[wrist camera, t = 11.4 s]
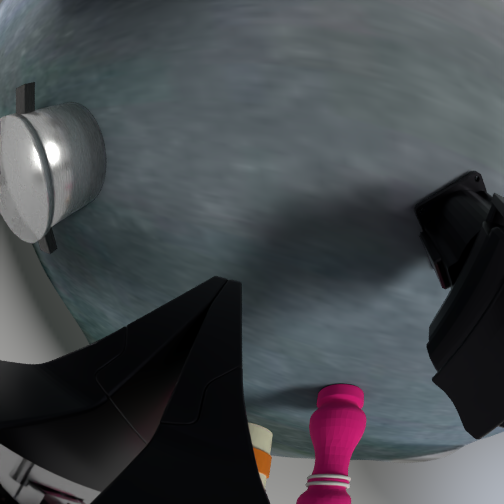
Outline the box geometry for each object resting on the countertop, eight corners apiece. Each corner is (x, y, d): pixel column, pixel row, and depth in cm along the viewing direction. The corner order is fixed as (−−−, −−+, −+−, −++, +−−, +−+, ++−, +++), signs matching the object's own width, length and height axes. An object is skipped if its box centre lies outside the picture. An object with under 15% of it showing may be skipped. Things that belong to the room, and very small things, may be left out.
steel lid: (46, 102, 13) (31, 105, 12) (68, 248, 20) (57, 257, 19) (-22, 128, 16) (-31, 132, 14) (-5, 221, 22) (-13, 227, 21)
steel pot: (105, 67, 17) (44, 72, 12) (115, 235, 27) (72, 270, 21) (40, 88, 19) (-7, 99, 14) (54, 218, 29) (17, 244, 23)
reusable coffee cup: (261, 416, 40) (236, 493, 28) (292, 441, 44) (274, 505, 32) (207, 415, 46) (179, 478, 34) (241, 440, 50) (221, 495, 38)
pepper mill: (309, 402, 34) (277, 530, 18) (321, 377, 30) (287, 533, 14) (356, 408, 32) (336, 535, 16) (375, 384, 29) (360, 535, 12)
